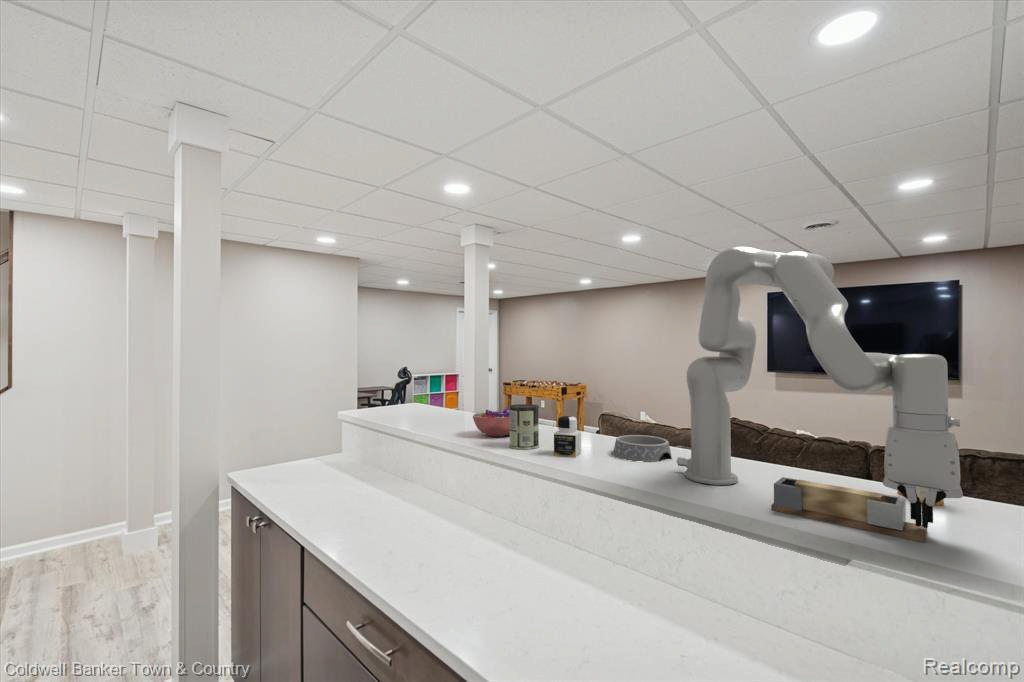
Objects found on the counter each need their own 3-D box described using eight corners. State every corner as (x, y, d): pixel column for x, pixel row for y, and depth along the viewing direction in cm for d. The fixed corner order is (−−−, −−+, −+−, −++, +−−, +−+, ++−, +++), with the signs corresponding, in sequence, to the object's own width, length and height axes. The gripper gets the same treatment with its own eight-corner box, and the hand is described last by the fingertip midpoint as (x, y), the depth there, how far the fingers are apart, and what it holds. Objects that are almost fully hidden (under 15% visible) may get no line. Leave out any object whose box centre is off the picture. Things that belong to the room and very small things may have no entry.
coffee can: (527, 442, 167) (527, 403, 167) (544, 447, 158) (544, 406, 159) (503, 445, 161) (503, 405, 161) (520, 451, 153) (520, 408, 153)
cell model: (471, 432, 187) (471, 404, 188) (520, 431, 190) (520, 403, 190) (472, 440, 171) (472, 409, 171) (526, 439, 173) (526, 409, 173)
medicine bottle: (553, 455, 146) (553, 417, 146) (559, 451, 153) (559, 414, 153) (575, 457, 143) (575, 418, 144) (581, 452, 150) (581, 415, 150)
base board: (771, 509, 96) (771, 504, 96) (780, 501, 101) (780, 497, 101) (925, 542, 80) (925, 537, 80) (927, 531, 85) (927, 526, 85)
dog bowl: (682, 457, 145) (682, 439, 146) (647, 466, 134) (647, 447, 134) (637, 448, 159) (637, 432, 159) (602, 455, 147) (602, 438, 148)
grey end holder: (773, 505, 96) (773, 483, 96) (782, 497, 101) (782, 477, 101) (801, 511, 93) (801, 488, 93) (809, 502, 98) (809, 481, 98)
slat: (794, 507, 95) (794, 482, 95) (798, 503, 97) (798, 479, 97) (881, 525, 85) (881, 498, 85) (883, 520, 88) (883, 493, 88)
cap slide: (867, 523, 85) (867, 500, 85) (872, 513, 90) (871, 492, 90) (902, 530, 82) (902, 506, 82) (905, 520, 87) (905, 497, 87)
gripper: (978, 424, 81) (980, 530, 80) (870, 416, 91) (871, 510, 91) (979, 430, 75) (982, 543, 75) (865, 420, 86) (866, 520, 85)
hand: (921, 524), depth 83 cm, fingers closed
